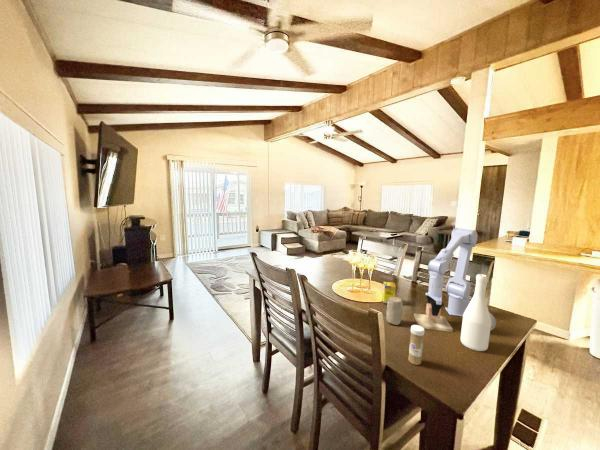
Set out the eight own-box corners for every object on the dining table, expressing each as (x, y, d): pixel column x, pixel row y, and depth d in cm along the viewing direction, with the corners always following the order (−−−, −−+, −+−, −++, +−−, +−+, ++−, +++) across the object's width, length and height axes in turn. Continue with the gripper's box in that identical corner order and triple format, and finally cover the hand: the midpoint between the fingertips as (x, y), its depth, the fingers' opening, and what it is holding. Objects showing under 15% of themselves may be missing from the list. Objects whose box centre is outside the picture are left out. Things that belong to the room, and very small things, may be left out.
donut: (493, 332, 117) (496, 311, 116) (495, 335, 114) (498, 314, 113) (467, 326, 122) (470, 306, 121) (468, 329, 119) (470, 309, 118)
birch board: (444, 319, 129) (444, 316, 129) (452, 331, 117) (452, 329, 117) (413, 315, 132) (414, 313, 132) (419, 327, 120) (419, 325, 120)
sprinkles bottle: (406, 361, 96) (409, 327, 94) (410, 355, 100) (413, 323, 98) (419, 367, 93) (422, 332, 91) (423, 361, 97) (426, 327, 95)
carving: (404, 324, 123) (406, 300, 121) (392, 327, 120) (393, 302, 118) (395, 318, 129) (396, 295, 127) (382, 320, 126) (384, 297, 124)
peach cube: (436, 314, 126) (437, 304, 125) (440, 319, 121) (441, 309, 120) (425, 312, 127) (426, 303, 126) (428, 317, 122) (429, 307, 121)
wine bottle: (488, 355, 101) (498, 281, 97) (460, 347, 106) (467, 276, 102) (486, 343, 109) (495, 274, 105) (460, 336, 114) (467, 269, 110)
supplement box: (394, 305, 143) (396, 286, 142) (383, 304, 144) (384, 285, 143) (393, 300, 149) (394, 282, 147) (382, 299, 150) (383, 281, 149)
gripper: (422, 279, 130) (420, 305, 132) (430, 290, 116) (427, 318, 118) (438, 280, 128) (435, 306, 130) (448, 291, 114) (445, 320, 116)
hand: (433, 312), depth 124 cm, fingers closed on peach cube, 5 cm apart
